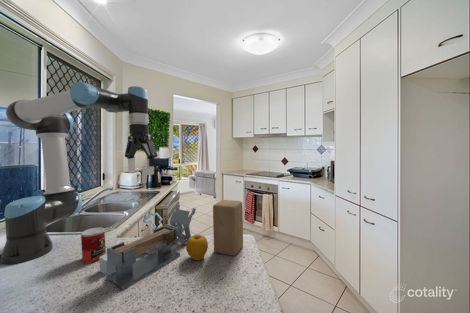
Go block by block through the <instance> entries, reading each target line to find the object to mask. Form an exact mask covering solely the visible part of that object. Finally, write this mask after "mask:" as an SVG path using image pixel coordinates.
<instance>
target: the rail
mask: <svg viewBox="0 0 470 313" xmlns="http://www.w3.org/2000/svg"><path fill="white" fill-rule="evenodd" d="M169 231H171V230H168V229H162V230H160V231H158V232H155V233H151V234H148V235H146V236H144V237H142V238H139V239H136V240H134V241H132V242H129V243H126V244H124V246H121V247H119V248H117V249H114V250H116V251H118V252H120V253H122V252H124V251H126V250H128V249H130V248H133V247H136V257H137V256H139V255H140V254H143V253H145V251H147V250H149V249H151V248H153V247H156V246H157V247H158V245H160V244H162V243H164V242H165V233H167V232H169Z"/></svg>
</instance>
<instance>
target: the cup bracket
mask: <svg viewBox="0 0 470 313" xmlns="http://www.w3.org/2000/svg"><path fill="white" fill-rule="evenodd" d="M162 229H168V230H171V231H169V232H167V233H165V242H164V243H162V244H160V245H158V246H157V250H156V251H154V252H152V253H150V254H146V255H145V256H144V257H141V258H139V259H137V256H136V247H133V248H130V249H128V250H126V251H124V252H122V253H120V252H118V251H116V250H114V249H117V248H119V247H121V246H124V245H125V242H120V243H118V244H115V245H113V246H112V245H111V246H110V247H107V248H106V254H107V261H109V262H111V263H113V264H114V265H115V269H116V271H114V272H112V273H110V274H108V275H105V281H107V282H108V283H109V284H111V285H112V286H114V287H115V288H117V289H119V290H120V291H125V290H126V289H128V288H130V287H131V286H133V285H134V284H136V283H138V282H140V281H141V280H142V279H144V278H147V277H148V276H149V275H151V274H152V273H154V272H155V271H157V270H159V269H161V268H163V267H164V266H165V265H167V264H169V263H171V262H172V261H174V260H175V259H178V258H179V257H181V253H180V252H178V251H175V250H172V244H174V243H176V242H175V240H176V239H177V238H178V237H177V229H174V228H171V227H167V226H166V225H162V226H159V227H158V228H155V229H153V233H155V232H158V231H160V230H162ZM153 233H152V234H153ZM174 239H175V240H174Z"/></svg>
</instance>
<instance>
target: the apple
mask: <svg viewBox="0 0 470 313" xmlns="http://www.w3.org/2000/svg"><path fill="white" fill-rule="evenodd" d="M186 240H187V239H186ZM186 243H187V244H186V245H185V249H186V253H187V254H188V256H189V257H190V258H191V259H192V260H194V261H201V260H202V259H204V257H205V255H206V254H207V251H208V248H209V244H208V243H209V242H208V240H207V238H206V236H205V235H202V234H194V235H191V237H190V238H189V239H188V240H187V242H186Z"/></svg>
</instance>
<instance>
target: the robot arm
mask: <svg viewBox="0 0 470 313" xmlns="http://www.w3.org/2000/svg"><path fill="white" fill-rule="evenodd" d="M93 107H95V108H98V109H103V110H105V111H106V112H107V113H115V114H118V113H124V112H126V113H127V112H128V119H129V120H128V121H129V125H128V126H129V128H128V129H129V134H131V135H132V136H131V135H130V136H127V142H126V147H125V151H124V152H125V153H124V158H126V159H127V162H128V163H127V166H128V169H127V170H128V174H134V173H136V159H135V158H136V157H135V155H136V153H137V151H138V148H139V147H141V149H143V151H144V153H145V155H146V175H147V176H149V175H151V176H152V175H155V159H156V158H157V157H158V153H157V150H156V147H155V144H154V141H153V136H152V134H149V133H150V128H149V127H150V126H149V124H150V122H149V97H148V90H147V89H146V88H144V87H141V86H135V85H134V86H133V85H132V86H129V87H128V88H127V93H116V92H112V91H110V90H107V89H104V88H101V87H99V86H96V85H93V84H90V83H86V82H83V81H76V82H74V83H73V85H71V86H70V89H69V90H66V91H62V92H59V93H58V92H57V93H53V94H50V95H46V96H43V97H39V98H35V99H25V98H24V99H19V100H17V101H16V100H15V101H14V102H11V103H10V104H8V105H7V107H6V110H5V114H6V118H7V120H8V121H9V122H10V123H11V124H13V125H14V126H16V127H17V128H20V129H23V130H28V131H29V130H30V131H35V136H37V137H38V138H39V139H40V142H41V149H42V157H43V159H42V160H43V165H44V166H43V167H44V175H45V183H46V190H45V191H44V192H43V193H42V195H35V196H29V197H24V198H18V199H16V200H13V201H11V202H9V203H8V204H6V206H5V208H4V215H3V216H4V217H3V218H4V221H5V223H4V224H5V235H6V236H5V238H6V241H5V245H4V247H3V249H2V252H1V254H0V263H2V265H3V264H4V265H12V264H14V265H15V264H19V263H24V262H27V261H32V260H34V259H37V258H40V257H42V256H44V255H46V254H47V253H49V252H51V251H52V250H53V248H54V246H53V242H52V240H51V238H50V236H49V234H48V232H47V225H48V224H49V223H53V222H56V221H59V220H62V219H68V218H70V217H71V216H75V215H77V213H79V212H80V210H81V209H82V206H83V197H82V196H81V194H80V193H79V192H77V191H76V189H75V188H74V187H73V186H72V185H71V178H70V171H69V170H70V169H69V162H68V153H67V145H66V138H67V137H68V136H69V132H71V131H72V130H73V127H74V119H73V117H72V115H71V114H70V113H71V112H72V113H73V112H74V111H75V112H77V111H78V110H79V111H80V110H84V109H89V108H93Z"/></svg>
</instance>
